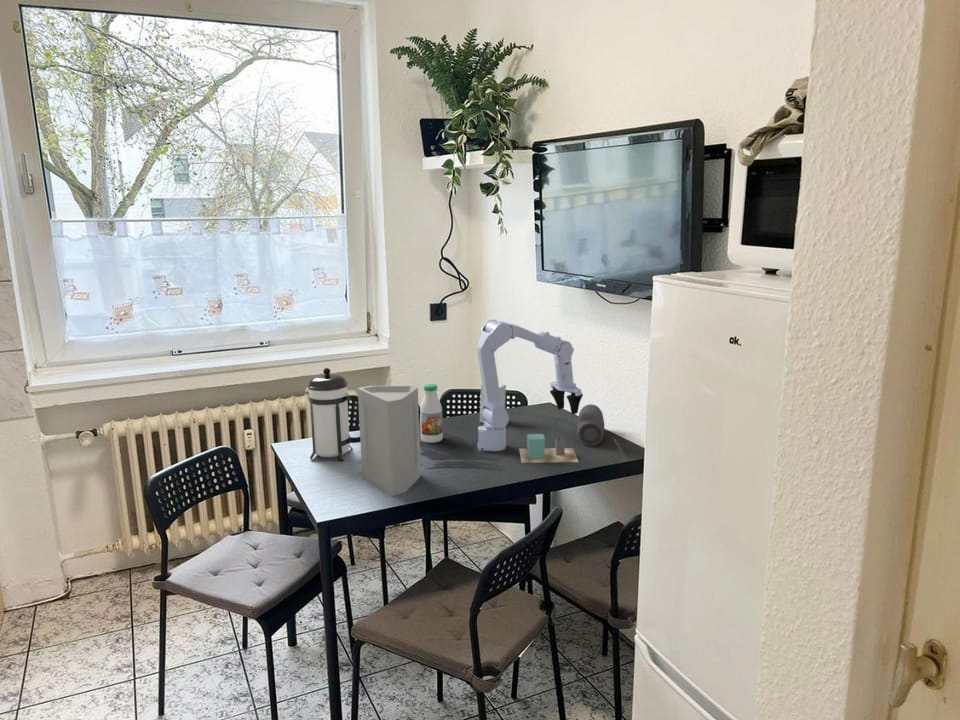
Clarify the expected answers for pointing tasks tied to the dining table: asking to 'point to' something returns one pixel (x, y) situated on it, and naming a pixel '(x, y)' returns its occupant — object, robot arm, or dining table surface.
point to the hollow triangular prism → (389, 436)
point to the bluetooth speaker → (590, 425)
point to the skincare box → (502, 395)
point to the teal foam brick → (535, 446)
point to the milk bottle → (431, 415)
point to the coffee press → (330, 415)
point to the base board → (550, 456)
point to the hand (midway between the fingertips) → (567, 411)
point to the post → (560, 446)
